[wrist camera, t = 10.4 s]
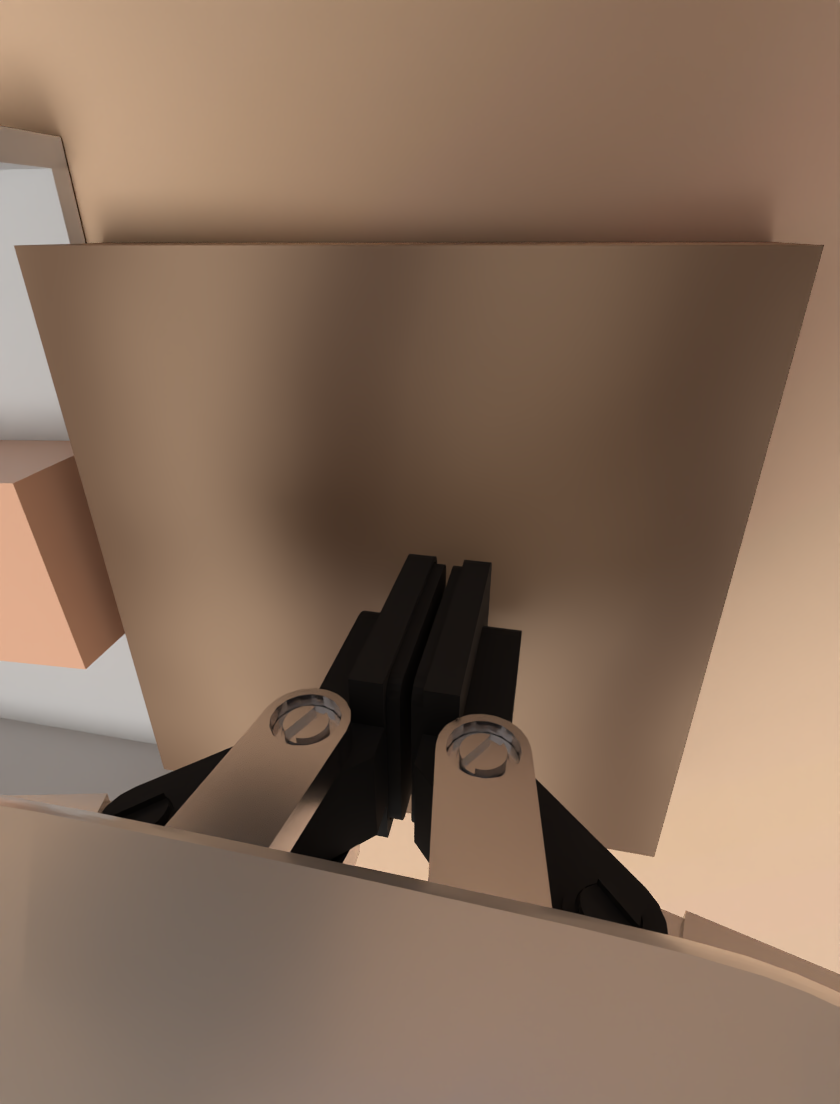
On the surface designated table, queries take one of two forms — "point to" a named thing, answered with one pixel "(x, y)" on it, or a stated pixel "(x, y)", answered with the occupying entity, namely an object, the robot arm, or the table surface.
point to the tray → (34, 414)
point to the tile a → (50, 561)
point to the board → (427, 468)
